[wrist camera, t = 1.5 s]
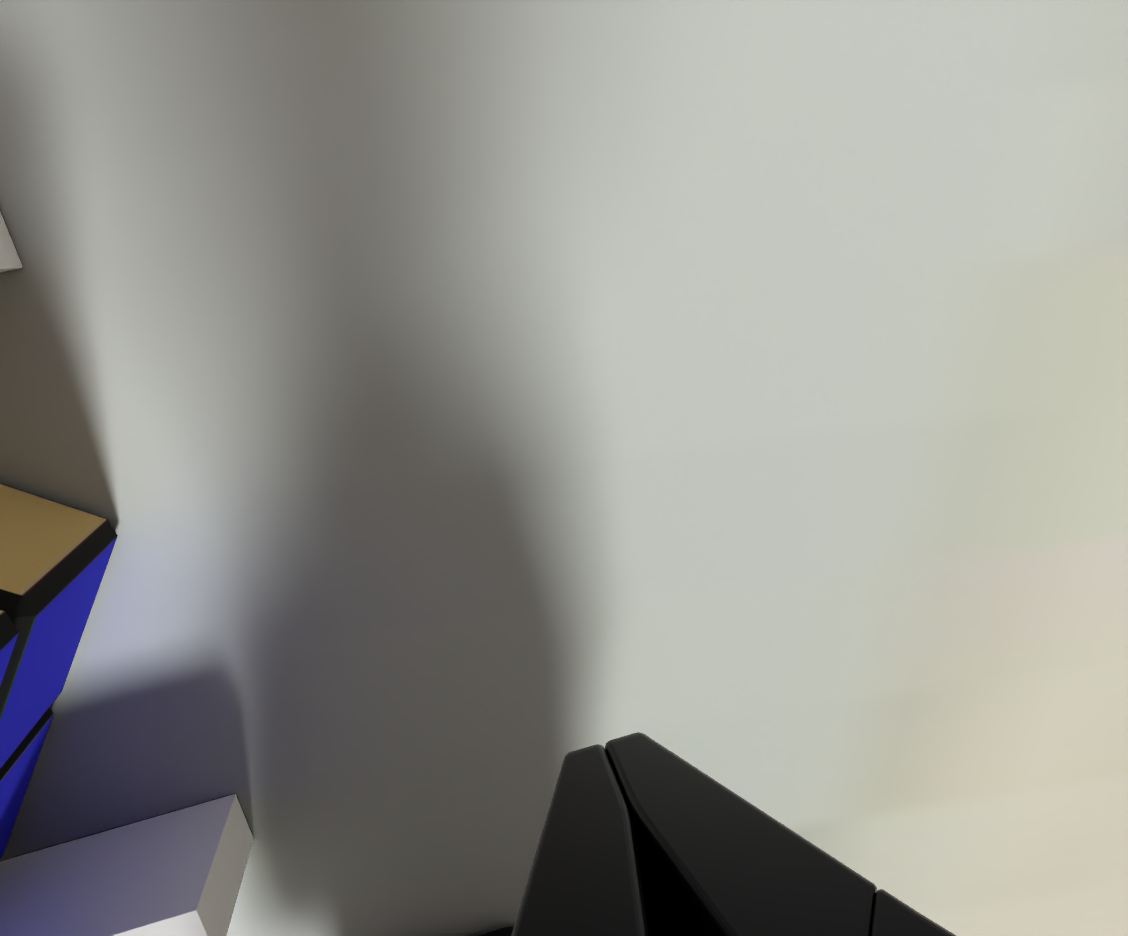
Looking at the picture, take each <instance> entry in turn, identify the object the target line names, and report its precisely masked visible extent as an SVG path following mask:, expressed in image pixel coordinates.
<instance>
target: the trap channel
mask: <svg viewBox="0 0 1128 936" xmlns="http://www.w3.org/2000/svg"><path fill="white" fill-rule="evenodd" d="M19 268H23V266H22V264H21V261H20V259H19V256H18V254H17V252H16V249H15V247H14V244H13V242H12V239H11V237H10V234H9V232H8V229H7V227H6V224H5V222H4V219H3V217H2V214H1V212H0V272H5V271H9V270H14V269H19ZM253 839H254V838H253V836H252V834H251V831H250V829H249V826H248V824H247V821H246V819H245V816H244V814H243V811H242V809H241V806H240V804H239V801H238V799H237V796H236V794H233V795H230V796H226V797H223V798H219V799H216V800H212V801H209V802H206V803H202V804H199V805H195V806H192V807H188V808H185V809H181V810H178V811H174V812H171V813H167V814H164V815H160V816H157V817H153V818H150V819H146V820H143V821H140V822H136V823H133V824H129V825H126V826H122V827H119V828H115V829H112V830H108V831H105V832H101V833H98V834H94V835H91V836H87V837H84V838H80V839H77V840H73V841H70V842H67V843H63V844H60V845H56V846H53V847H49V848H46V849H42V850H39V851H35V852H32V853H28V854H25V855H21V856H18V857H14V858H11V859H7V860H4V861H1V862H0V936H226V935H227V931H228V928H229V924H230V921H231V917H232V914H233V910H234V907H235V903H236V899H237V896H238V892H239V889H240V885H241V882H242V878H243V875H244V871H245V867H246V864H247V860H248V857H249V853H250V850H251V846H252V843H253Z"/></svg>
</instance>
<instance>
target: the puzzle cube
mask: <svg viewBox="0 0 1128 936" xmlns="http://www.w3.org/2000/svg"><path fill="white" fill-rule="evenodd" d="M116 539H117V534H116V532H115V531H114V529H113V527H112V526H111V524H110V522H109V520H108V519H105V518H102V517H99V516H96V515H93V514H90V513H87V512H84V511H81V510H78V509H75V508H72V507H69V506H66V505H63V504H60V503H57V502H54V501H51V500H48V499H45V498H42V497H39V496H36V495H33V494H30V493H27V492H24V491H21V490H18V489H15V488H12V487H9V486H6V485H3V484H0V859H1V858H2V856H3V854H4V851H5V848H6V845H7V842H8V840H9V837H10V834H11V831H12V828H13V826H14V823H15V820H16V817H17V814H18V812H19V809H20V806H21V803H22V801H23V798H24V795H25V792H26V789H27V787H28V784H29V781H30V778H31V775H32V773H33V770H34V767H35V764H36V762H37V759H38V756H39V753H40V750H41V748H42V745H43V742H44V739H45V736H46V734H47V731H48V728H49V725H50V723H51V720H52V717H53V714H54V713H53V712H52V710H51V709H50V706H51V704H52V703H53V702H54V701H55V699H56V698H57V697H58V695H59V694H60V693H61V692H62V689H63V686H64V684H65V681H66V678H67V675H68V672H69V670H70V667H71V664H72V661H73V658H74V656H75V653H76V650H77V647H78V644H79V642H80V639H81V636H82V633H83V631H84V628H85V625H86V622H87V619H88V617H89V614H90V611H91V608H92V605H93V603H94V600H95V597H96V594H97V592H98V589H99V586H100V583H101V580H102V578H103V575H104V572H105V569H106V566H107V564H108V561H109V558H110V555H111V553H112V550H113V547H114V544H115V541H116Z"/></svg>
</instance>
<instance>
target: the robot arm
mask: <svg viewBox="0 0 1128 936" xmlns="http://www.w3.org/2000/svg"><path fill="white" fill-rule="evenodd" d="M480 936H956V935H954V934H953V933H951V932H949V931H948V930H946V929H944V928H943V927H941V926H940V925H938V924H936V923H935V922H933V921H931V920H930V919H928V918H926V917H925V916H923V915H922V914H920V913H918V912H917V911H915V910H914V909H912V908H911V907H909V906H907V905H906V904H904V903H903V902H901V901H900V900H898V899H897V898H895V897H894V896H892V895H891V894H889V893H888V892H886V891H884V890H882V889H880V890H878V891H877V888H876V886H875V885H874V884H873V883H872V882H870V881H869V880H867V879H865V878H864V877H862V876H861V875H859V874H858V873H856V872H855V871H853V870H852V869H850V868H849V867H847V866H846V865H844V864H842V863H841V862H839V861H838V860H836V859H835V858H833V857H832V856H830V855H829V854H827V853H826V852H824V851H823V850H821V849H819V848H818V847H816V846H815V845H813V844H812V843H810V842H809V841H807V840H806V839H804V838H803V837H801V836H800V835H798V834H796V833H795V832H793V831H792V830H790V829H789V828H787V827H786V826H784V825H783V824H781V823H780V822H778V821H777V820H775V819H773V818H772V817H770V816H769V815H767V814H766V813H764V812H763V811H761V810H760V809H758V808H757V807H755V806H754V805H752V804H750V803H749V802H747V801H746V800H744V799H743V798H741V797H740V796H738V795H737V794H735V793H734V792H732V791H731V790H729V789H728V788H726V787H724V786H723V785H721V784H720V783H718V782H717V781H715V780H714V779H712V778H711V777H709V776H708V775H706V774H705V773H703V772H701V771H700V770H698V769H697V768H695V767H694V766H692V765H691V764H689V763H688V762H686V761H685V760H683V759H682V758H680V757H678V756H677V755H675V754H674V753H672V752H671V751H669V750H668V749H666V748H665V747H663V746H662V745H660V744H659V743H657V742H655V741H654V740H652V739H651V738H649V737H648V736H646V735H645V734H643V733H639V732H638V733H634V734H630V735H627V736H623V737H620V738H617V739H613V740H610V741H608V742H607V743H606V746H605V748H604V747H603V746H602V745H599V744H598V745H593V746H590V747H586V748H583V749H579V750H576V751H572V752H570V753H568V754H567V755H566V756H565V758H564V761H563V764H562V768H561V771H560V774H559V778H558V781H557V784H556V788H555V791H554V794H553V798H552V801H551V805H550V808H549V811H548V815H547V818H546V821H545V825H544V828H543V831H542V835H541V838H540V841H539V845H538V848H537V851H536V855H535V858H534V861H533V865H532V868H531V871H530V875H529V878H528V882H527V885H526V888H525V892H524V895H523V898H522V902H521V905H520V908H519V912H518V915H517V918H516V922H515V925H514V927H506V928H502V929H499V930H496V931H492V932H489V933H486V934H483V935H480Z"/></svg>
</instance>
